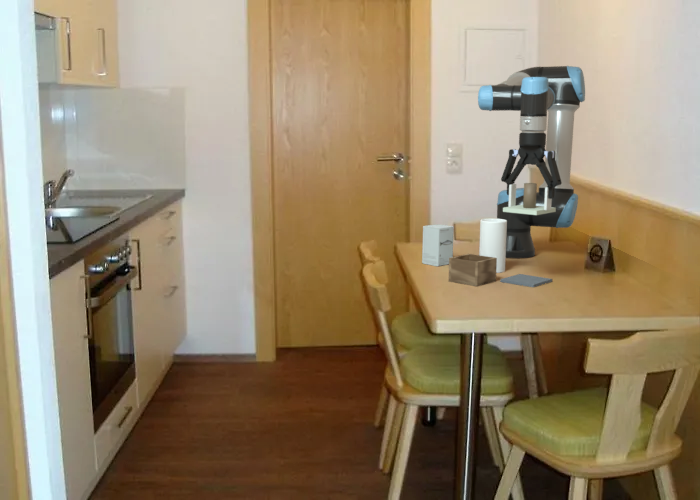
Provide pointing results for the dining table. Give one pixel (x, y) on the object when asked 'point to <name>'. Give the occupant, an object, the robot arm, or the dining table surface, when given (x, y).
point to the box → (472, 269)
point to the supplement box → (437, 244)
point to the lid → (529, 203)
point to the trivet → (526, 280)
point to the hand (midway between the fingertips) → (529, 208)
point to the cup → (493, 240)
